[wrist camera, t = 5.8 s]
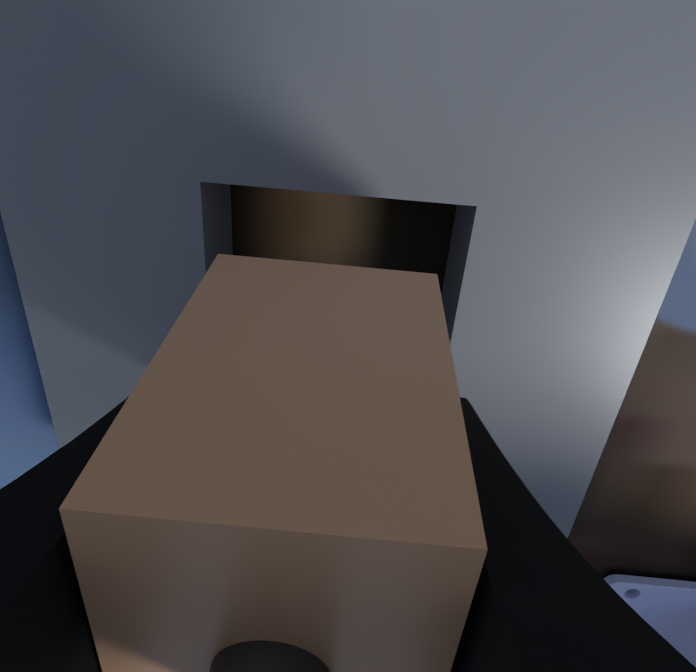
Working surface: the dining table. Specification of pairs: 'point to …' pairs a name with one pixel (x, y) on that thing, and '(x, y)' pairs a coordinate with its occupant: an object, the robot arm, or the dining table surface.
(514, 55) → the socket
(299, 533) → the plug
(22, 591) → the robot arm
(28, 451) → the dining table surface
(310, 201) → the dining table surface
